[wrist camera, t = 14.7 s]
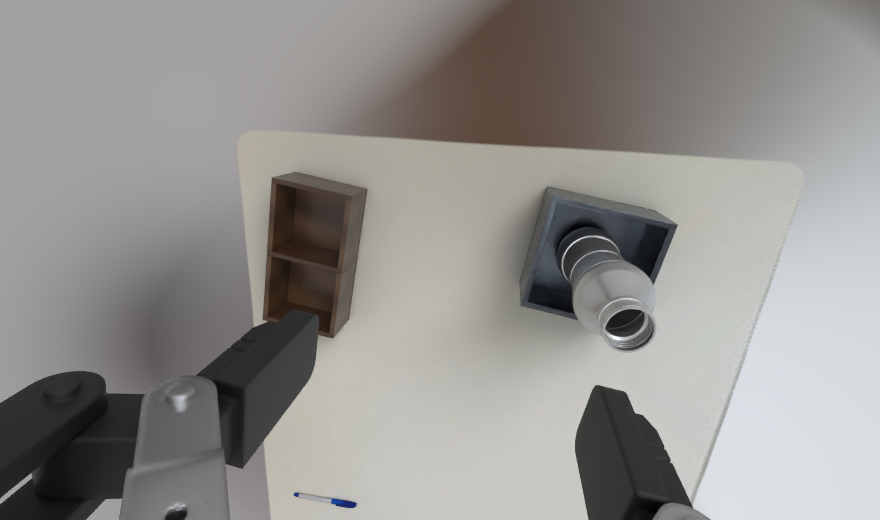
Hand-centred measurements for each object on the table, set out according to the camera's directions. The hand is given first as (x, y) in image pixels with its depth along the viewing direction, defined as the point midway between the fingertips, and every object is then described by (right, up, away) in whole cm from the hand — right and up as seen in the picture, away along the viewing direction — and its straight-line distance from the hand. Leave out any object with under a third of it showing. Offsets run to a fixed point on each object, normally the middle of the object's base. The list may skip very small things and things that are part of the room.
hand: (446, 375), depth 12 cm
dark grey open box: (+17, +5, +38) cm, 41 cm away
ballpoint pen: (-19, -35, +57) cm, 70 cm away
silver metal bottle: (+16, +4, +37) cm, 41 cm away
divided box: (-15, +5, +43) cm, 46 cm away
